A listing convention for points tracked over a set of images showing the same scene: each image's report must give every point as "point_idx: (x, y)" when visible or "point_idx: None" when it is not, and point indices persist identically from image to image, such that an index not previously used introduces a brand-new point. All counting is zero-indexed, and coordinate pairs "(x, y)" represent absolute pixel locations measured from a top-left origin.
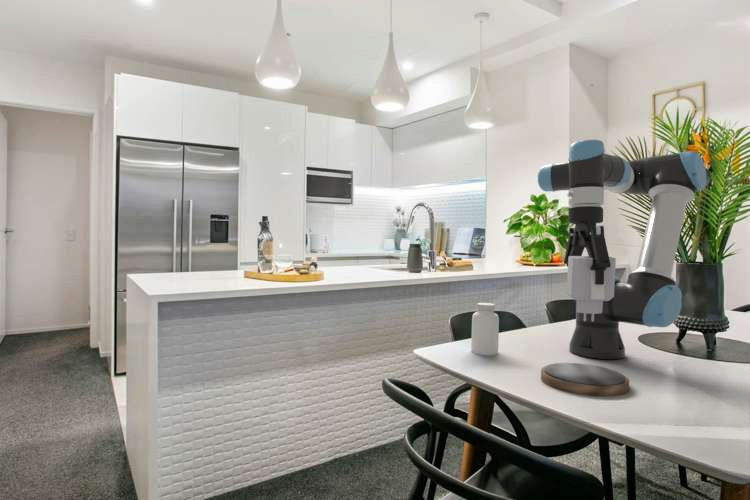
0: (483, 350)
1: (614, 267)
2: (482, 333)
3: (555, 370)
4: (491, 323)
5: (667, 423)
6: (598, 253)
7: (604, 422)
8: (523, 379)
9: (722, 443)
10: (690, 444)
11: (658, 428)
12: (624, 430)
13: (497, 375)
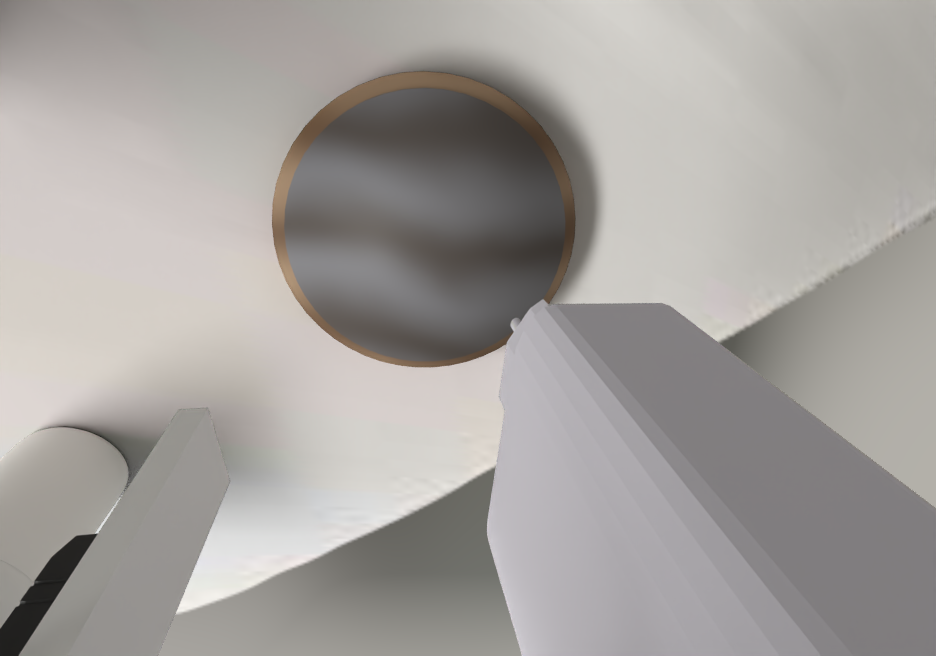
0: (121, 486)
1: (932, 515)
2: None
3: (418, 331)
4: (42, 558)
5: (782, 143)
6: None
7: (743, 299)
8: (413, 398)
9: (916, 75)
10: (892, 165)
11: (802, 189)
12: (791, 275)
13: (382, 454)
